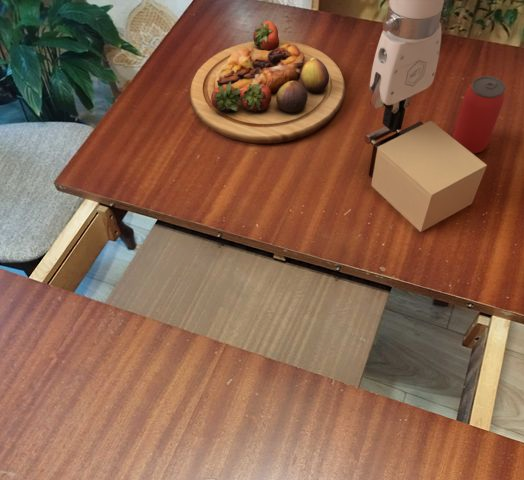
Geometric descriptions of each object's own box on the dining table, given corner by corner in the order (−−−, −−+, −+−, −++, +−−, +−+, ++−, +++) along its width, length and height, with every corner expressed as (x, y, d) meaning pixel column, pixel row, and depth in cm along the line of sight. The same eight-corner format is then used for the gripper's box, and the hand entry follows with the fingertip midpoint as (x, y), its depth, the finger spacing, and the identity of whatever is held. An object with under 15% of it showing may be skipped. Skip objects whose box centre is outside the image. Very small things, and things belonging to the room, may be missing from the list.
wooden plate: (218, 41, 123) (214, 3, 116) (357, 58, 118) (362, 19, 110) (169, 133, 108) (160, 96, 101) (325, 157, 102) (328, 119, 95)
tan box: (371, 185, 98) (377, 146, 91) (420, 160, 101) (430, 120, 94) (420, 232, 92) (431, 194, 85) (471, 203, 95) (487, 165, 88)
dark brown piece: (353, 160, 101) (356, 129, 95) (397, 138, 103) (403, 107, 97) (413, 217, 93) (421, 187, 87) (459, 192, 95) (470, 161, 90)
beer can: (494, 146, 102) (517, 87, 92) (468, 160, 100) (489, 103, 90) (468, 127, 105) (488, 69, 94) (443, 141, 103) (460, 83, 93)
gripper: (388, 48, 75) (370, 155, 91) (470, 12, 78) (439, 122, 94) (355, 23, 78) (343, 131, 94) (435, -10, 82) (411, 99, 98)
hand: (391, 126), depth 94 cm, fingers closed
